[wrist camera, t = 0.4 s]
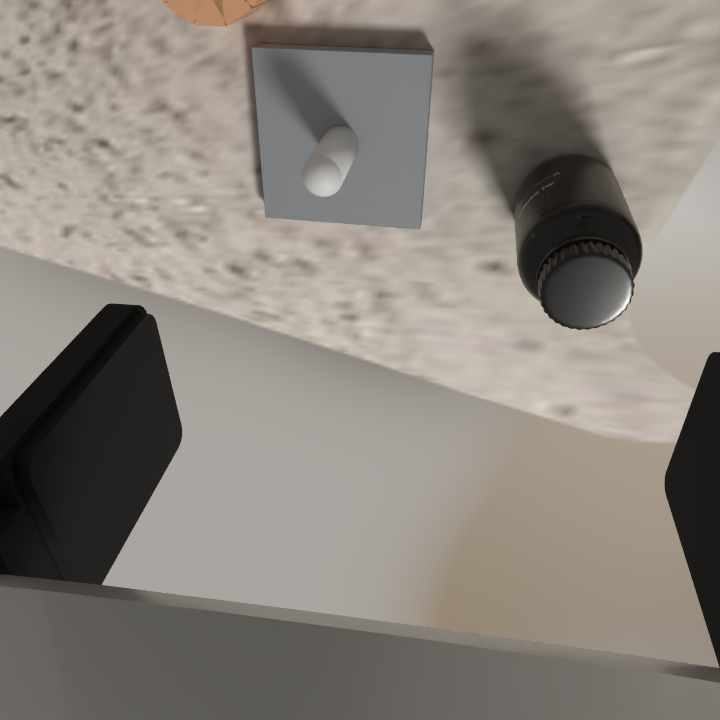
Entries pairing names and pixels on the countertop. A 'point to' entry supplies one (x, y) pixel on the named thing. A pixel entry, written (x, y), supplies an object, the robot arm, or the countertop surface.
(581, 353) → the countertop surface
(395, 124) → the post block
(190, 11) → the ring
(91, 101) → the countertop surface
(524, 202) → the supplement bottle
